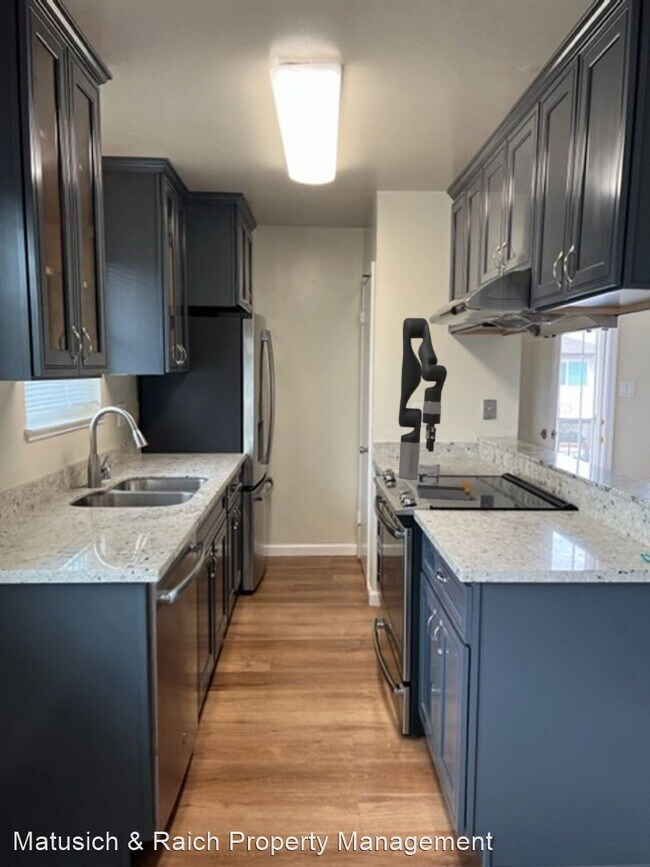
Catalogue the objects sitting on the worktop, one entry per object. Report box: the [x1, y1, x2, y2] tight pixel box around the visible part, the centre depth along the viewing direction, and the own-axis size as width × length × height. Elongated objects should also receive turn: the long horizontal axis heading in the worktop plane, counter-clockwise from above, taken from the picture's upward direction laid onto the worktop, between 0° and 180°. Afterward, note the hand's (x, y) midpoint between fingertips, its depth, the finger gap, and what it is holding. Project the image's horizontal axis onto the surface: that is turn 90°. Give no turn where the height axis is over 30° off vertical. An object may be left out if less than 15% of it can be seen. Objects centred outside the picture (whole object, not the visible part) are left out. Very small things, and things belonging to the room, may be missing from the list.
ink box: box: [416, 461, 441, 486], centre depth 256 cm, size 8×5×12 cm, turn 62°
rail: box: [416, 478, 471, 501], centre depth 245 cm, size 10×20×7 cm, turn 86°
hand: (429, 450), depth 255 cm, fingers open, 8 cm apart
